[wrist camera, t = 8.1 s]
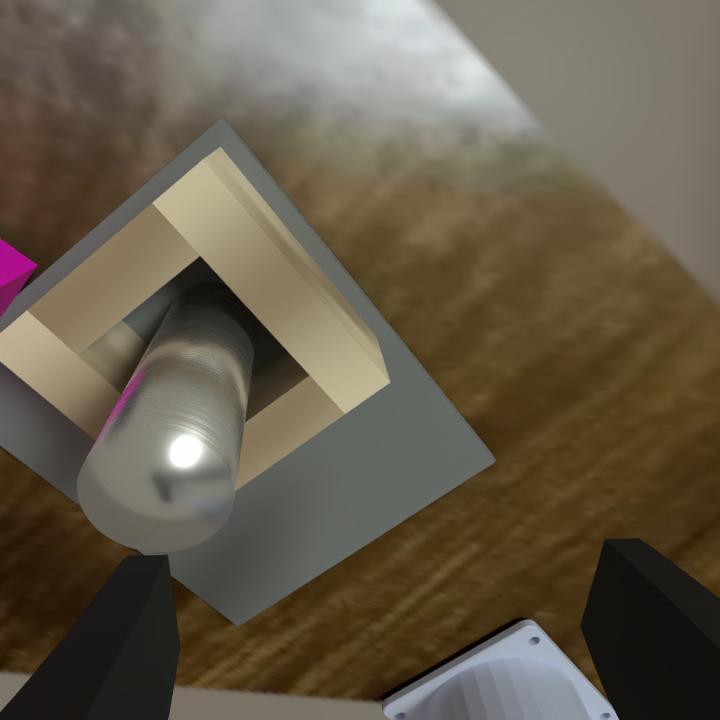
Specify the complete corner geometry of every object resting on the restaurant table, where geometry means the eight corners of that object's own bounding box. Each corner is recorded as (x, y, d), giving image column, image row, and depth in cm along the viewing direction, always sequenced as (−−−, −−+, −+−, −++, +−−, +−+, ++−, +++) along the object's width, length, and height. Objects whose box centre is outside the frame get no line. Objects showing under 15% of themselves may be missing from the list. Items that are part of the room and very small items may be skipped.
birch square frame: (376, 337, 18) (390, 382, 15) (207, 460, 19) (192, 521, 16) (220, 146, 15) (202, 159, 12) (35, 304, 16) (-17, 347, 14)
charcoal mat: (491, 453, 21) (496, 461, 20) (239, 616, 23) (238, 626, 23) (224, 116, 15) (221, 117, 15) (-73, 374, 17) (-83, 382, 17)
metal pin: (275, 330, 17) (265, 499, 10) (210, 379, 18) (156, 574, 11) (216, 264, 16) (157, 400, 9) (149, 317, 17) (42, 488, 10)
